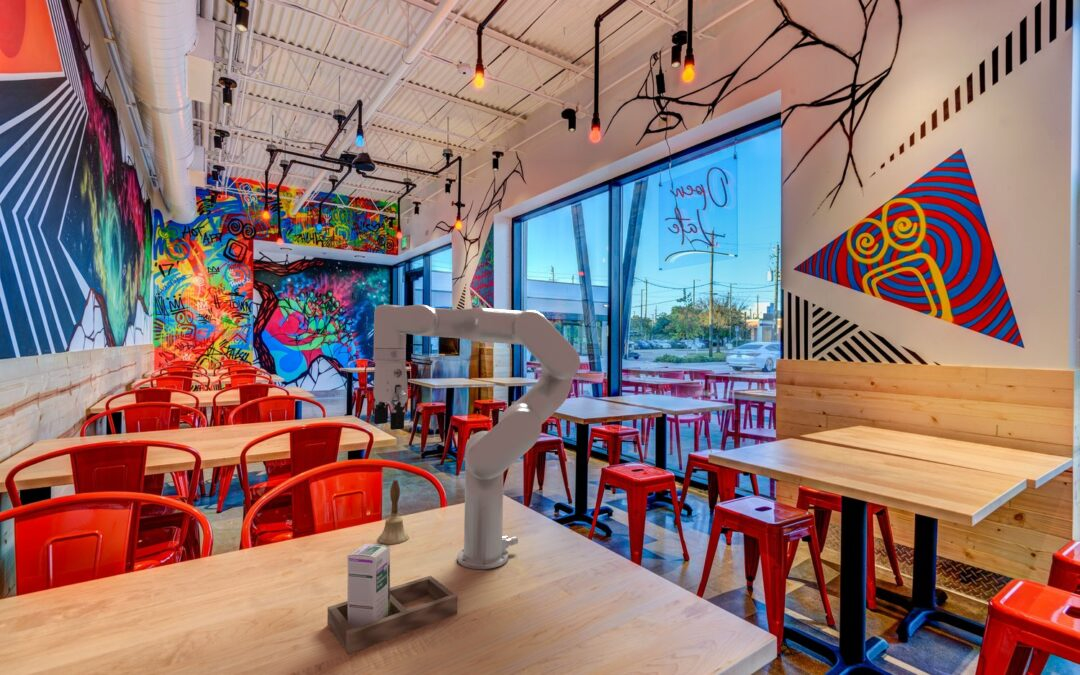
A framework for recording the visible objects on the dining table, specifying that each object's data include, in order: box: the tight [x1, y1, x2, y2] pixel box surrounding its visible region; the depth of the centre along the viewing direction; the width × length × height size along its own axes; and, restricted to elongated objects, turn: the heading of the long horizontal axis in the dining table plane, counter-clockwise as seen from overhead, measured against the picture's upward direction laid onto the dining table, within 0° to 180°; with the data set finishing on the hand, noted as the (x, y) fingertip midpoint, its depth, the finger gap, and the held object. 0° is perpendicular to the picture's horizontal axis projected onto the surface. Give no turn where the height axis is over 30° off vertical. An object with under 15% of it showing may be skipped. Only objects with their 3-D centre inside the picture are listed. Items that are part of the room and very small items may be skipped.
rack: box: [326, 575, 459, 655], centre depth 101 cm, size 22×11×4 cm, turn 130°
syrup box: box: [347, 543, 391, 628], centre depth 98 cm, size 6×6×14 cm
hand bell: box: [377, 479, 410, 545], centre depth 142 cm, size 8×8×16 cm
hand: (388, 426), depth 126 cm, fingers open, 9 cm apart
